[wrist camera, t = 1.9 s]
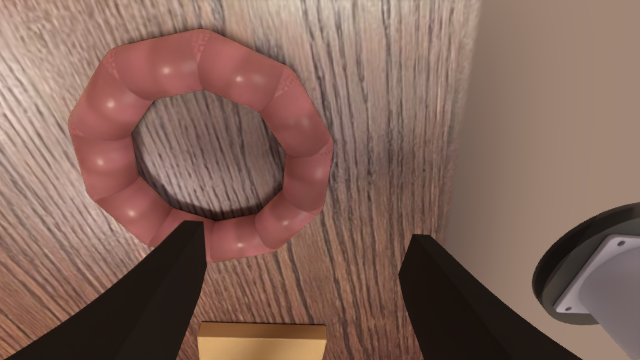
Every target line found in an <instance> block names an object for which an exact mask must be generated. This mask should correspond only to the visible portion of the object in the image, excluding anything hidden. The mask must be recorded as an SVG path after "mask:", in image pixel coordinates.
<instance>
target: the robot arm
mask: <svg viewBox="0 0 640 360" xmlns="http://www.w3.org/2000/svg"><path fill="white" fill-rule="evenodd" d="M206 268H207V260H206V247H205V233H204V221H193V220H184V221H182V222H181V223H180V224H179V225H178V226H177V227H176V228H175V229H174V230H173V231H172V232H171V233H170V234H169V235H168V236H167V237H166V238H165V239H164V240H163V241H162V242H161V243H160V244H159V245H158V246H157V247H156V248H155V249H154V250H152V251H151V252H150V253H149V254H148V255H147V256H146V257H145V258H144V259H143V260H142V261H140V262H139V263H138V264H137V265H136V266H135V267H134V268H133V269H131V270H130V271H129V272H128V273H127V274H126V275H124V276H123V277H122V278H121V279H120V280H118V281H117V282H116V283H115V284H114V285H112V286H111V287H110V288H109V289H108V290H106V291H105V292H104V293H102V294H101V295H100V296H99V297H97V298H96V299H95V300H93V301H92V302H91V303H89V304H88V305H87V306H85V307H84V308H83V309H81V310H80V311H78V312H77V313H76V314H74V315H73V316H71V317H70V318H69V319H67V320H66V321H64V322H63V323H61V324H60V325H58V326H57V327H55V328H54V329H52V330H51V331H49V332H47V333H46V334H44V335H43V336H41V337H40V338H38V339H37V340H35V341H34V342H32V343H31V344H29V345H27V346H26V347H24V348H23V349H21V350H19V351H18V352H16V353H14V354H13V355H11V356H9V357H8V358H6V359H4V360H176V358H177V355H178V352H179V350H180V347H181V344H182V342H183V339H184V336H185V334H186V331H187V328H188V326H189V323H190V320H191V318H192V315H193V312H194V310H195V307H196V304H197V301H198V299H199V296H200V292H201V288H202V285H203V280H204V276H205V272H206ZM398 275H399V281H400V286H401V291H402V295H403V299H404V303H405V306H406V309H407V312H408V315H409V318H410V321H411V324H412V326H413V329H414V332H415V335H416V338H417V341H418V343H419V346H420V349H421V352H422V355H423V358H424V360H582V359H581V358H579V357H578V356H576V355H575V354H573V353H572V352H570V351H569V350H567V349H566V348H564V347H563V346H561V345H560V344H558V343H557V342H555V341H554V340H552V339H551V338H550V337H548V336H547V335H545V334H544V333H543V332H541V331H540V330H538V329H537V328H536V327H534V326H533V325H532V324H530V323H529V322H528V321H526V320H525V319H524V318H522V317H521V316H520V315H518V314H517V313H516V312H515V311H513V310H512V309H511V308H510V307H508V306H507V305H506V304H504V302H502V301H501V300H500V299H499V298H498V297H497V296H495V295H494V294H493V293H492V292H491V291H489V290H488V289H487V288H486V287H485V286H484V285H482V283H480V282H479V281H478V280H477V279H476V278H475V277H474V276H473V275H472V274H470V272H468V271H467V270H466V269H465V268H464V267H463V266H462V265H461V264H460V263H459V262H458V261H457V260H456V259H455V258H453V256H452V255H450V254H449V253H448V252H447V251H446V250H445V249H444V248H443V247H442V246H441V245H440V244H439V243H438V242H437V241H436V240H435V239H433V238H432V237H431V236H430V235H423V234H413V235H412V238H411V241H410V243H409V246H408V249H407V252H406V255H405V257H404V260H403V263H402V266H401V268H400V271H399V274H398ZM553 307H554V309H555V310H556V311H557V312H563V313H590V314H591V315H592V316H593V317H594V318H595V319H596V321H597V322H598V323H599V324H600V325H601V326H602V327H603V328H604V329H605V331H606V332H607V333H608V334H609V335H610V336H611V337H612V338H613V340H614V341H615V342H616V343H617V344H618V345H619V346H620V347H621V348H622V350H623V351H624V352H625V353H626V354H627V355H628V356H629V357H630V359H631V360H640V236H633V235H618V234H612V235H609V236H607V237H606V238H605V239H604V240H603V241H602V243H601V244H600V245H599V247H598V248H597V249H596V251H595V252H594V253H593V254H592V256H591V257H590V258H589V260H588V261H587V262H586V264H585V265H584V266H583V267H582V269H581V270H580V271H579V273H578V274H577V275H576V277H575V278H574V279H573V281H572V282H571V283H570V284H569V286H568V287H567V288H566V290H565V291H564V292H563V294H562V295H561V296H560V298H559V299H558V300H557V301H556V303H555V304H554V306H553Z"/></svg>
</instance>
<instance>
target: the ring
mask: <svg viewBox="0 0 640 360" xmlns="http://www.w3.org/2000/svg"><path fill="white" fill-rule="evenodd" d="M204 89H205V90H207V91H210V92H212V93H214V94H217V95H219V96H222V97H224V98H226V99H229V100H231V101H234V102H236V103H239V104H241V105H243V106H246V107H248V108H251V109H253V110H255V111H258V112H259V113H260V115H261V116H262V118H263V119H264V121H265V122H266V124H267V125H268V127H269V128H270V130H271V131H272V133H273V134H274V135H275V137H276V138H277V140H278V141H279V143H280V144H281V146H282V147H283V149H284V150H285V152H286V157H285V169H284V181H283V189H282V190H281V191H280V192H279V193H278V194H277V195H276V196H275V197H274V198H273V199H272V200H271V201H270V202H269V203H268V204H267V205H266V206H265V207H264V208H263V209H262V210H261V211H260V212H259V213H258V214H254V215H248V216H243V217H238V218H232V219H227V220H222V221H213V220H210V219H207V218H204V217H201V216H197V215H194V214H191V213H188V212H184V211H181V210H178V209H175V208H172V207H171V206H170V205H169V204H168V203H167V202H166V201H165V200H164V199H163V198H162V197H161V196H160V195H159V194H158V193H157V192H156V191H155V190H154V189H153V188H152V187H151V186H150V185H149V184H148V183H147V182H146V181H144V180H143V179H142V178H141V177H140V176H139V175H138V169H137V164H136V159H135V153H134V148H133V143H132V137H131V132H132V131H133V130H134V128H135V127H136V125H137V124H138V122H139V121H140V119H141V118H142V117H143V115H144V114H145V112H146V111H147V109H148V108H149V107H150V105H151V104H152V102H153V101H154V100H156V99H161V98H165V97H170V96H175V95H180V94H185V93H189V92H194V91H199V90H204ZM68 128H69V132H70V136H71V139H72V143H73V146H74V149H75V153H76V156H77V160H78V163H79V167H80V170H81V173H82V177H83V180H84V184H85V187H86V190H87V193H88V195H89V196H90V198H91V199H92V200H93V201H94V202H95V203H97V204H98V205H99V206H100V207H101V208H102V209H104V210H105V211H106V212H107V213H108V214H109V215H111V216H112V217H113V218H114V219H115V220H116V221H118V222H119V223H120V224H121V225H122V226H123V227H125V228H126V229H127V230H128V231H129V232H130V233H131V234H133V235H134V236H135V237H136V238H137V239H138V240H140V241H141V242H142V243H144V244H145V245H148V246H151V247H154V248H156V247H157V246H158V245H159V244H160V243H161V242H162V241H163V240H164V239H165V238H166V237H167V236H168V235H169V234H170V233H171V232H172V231H173V230H174V229H175V228H176V227H177V226H178V225H179V224H180V223H181V222H182V221H184V220H193V221H204V233H205V247H206V260H207V262H211V263H215V262H221V261H227V260H232V259H238V258H243V257H249V256H254V255H260V254H265V253H271V252H274V251H276V250H278V249H279V248H281V247H282V246H283V245H284V244H285V243H286V242H287V241H288V240H290V239H291V238H292V237H293V236H294V235H295V234H296V233H297V232H299V231H300V230H301V229H302V228H303V227H304V226H305V225H306V224H308V223H309V222H310V221H311V220H312V219H313V218H314V217H315V216H317V215H318V214H319V213H320V211H321V210H322V208H323V206H324V203H325V197H326V191H327V185H328V179H329V172H330V166H331V160H332V154H333V139H332V136H331V134H330V132H329V131H328V129H327V127H326V125H325V124H324V122H323V120H322V119H321V117H320V115H319V113H318V112H317V110H316V108H315V106H314V105H313V103H312V101H311V99H310V98H309V96H308V94H307V92H306V91H305V89H304V87H303V85H302V84H301V82H300V80H299V79H298V77H297V75H296V74H295V73H294V71H292V70H291V69H290V68H289V67H287V66H285V65H283V64H281V63H279V62H277V61H275V60H273V59H270V58H268V57H266V56H264V55H262V54H260V53H258V52H255V51H253V50H251V49H249V48H247V47H245V46H243V45H240V44H238V43H236V42H234V41H232V40H230V39H228V38H225V37H223V36H221V35H219V34H217V33H215V32H213V31H210V30H206V29H195V30H190V31H186V32H181V33H176V34H172V35H167V36H163V37H158V38H154V39H149V40H144V41H140V42H135V43H131V44H126V45H121V46H118V47H115V48H113V49H111V50H110V51H108V52H107V53H106V55H105V56H104V57H103V59H102V61H101V62H100V64H99V66H98V67H97V69H96V71H95V73H94V74H93V76H92V78H91V79H90V81H89V83H88V85H87V86H86V88H85V90H84V91H83V93H82V95H81V97H80V98H79V100H78V102H77V103H76V105H75V107H74V109H73V110H72V112H71V114H70V116H69V119H68Z"/></svg>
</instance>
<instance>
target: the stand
mask: <svg viewBox="0 0 640 360" xmlns="http://www.w3.org/2000/svg"><path fill="white" fill-rule="evenodd" d="M197 340H198V349H199V358H200V360H322V358H323V354H324V350H325V345H326V341H327V337H326V326H325V325H288V324H251V323H214V322H202V323H201V326H200V329H199V332H198V336H197Z"/></svg>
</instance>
